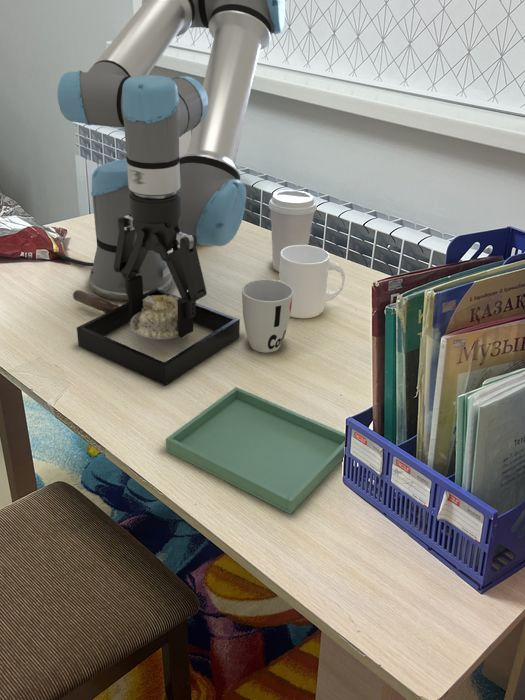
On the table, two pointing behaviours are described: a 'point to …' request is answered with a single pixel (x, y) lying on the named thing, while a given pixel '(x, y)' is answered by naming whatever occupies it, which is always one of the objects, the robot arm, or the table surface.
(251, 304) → the cup
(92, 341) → the pan
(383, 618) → the table surface
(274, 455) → the tray
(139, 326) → the cake
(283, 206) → the coffee cup
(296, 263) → the mug
